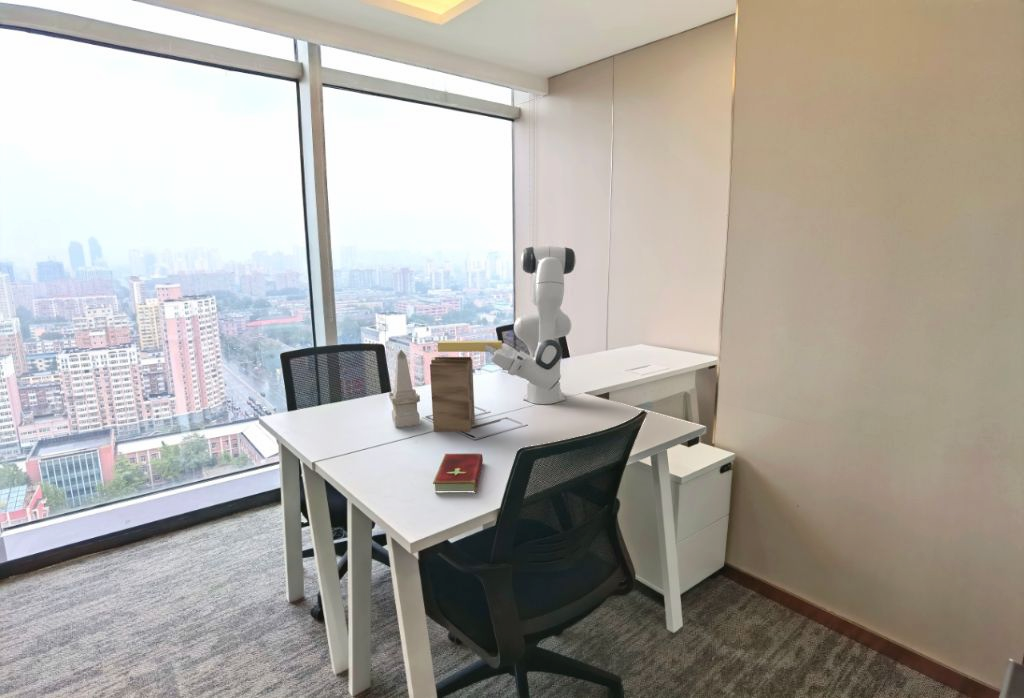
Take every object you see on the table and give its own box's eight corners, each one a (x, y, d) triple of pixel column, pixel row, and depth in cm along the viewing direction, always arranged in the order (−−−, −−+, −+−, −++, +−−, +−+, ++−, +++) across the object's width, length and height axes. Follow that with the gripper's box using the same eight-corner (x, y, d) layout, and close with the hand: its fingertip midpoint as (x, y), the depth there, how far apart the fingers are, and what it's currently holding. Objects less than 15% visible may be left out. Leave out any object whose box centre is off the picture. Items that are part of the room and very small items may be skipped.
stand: (440, 422, 209) (436, 355, 204) (474, 423, 207) (472, 355, 202) (433, 430, 199) (429, 361, 194) (469, 431, 197) (466, 361, 192)
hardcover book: (482, 464, 168) (482, 452, 167) (476, 495, 147) (475, 481, 146) (445, 465, 168) (445, 452, 167) (433, 495, 148) (432, 481, 147)
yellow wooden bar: (440, 350, 200) (440, 341, 199) (502, 349, 197) (502, 340, 196) (438, 351, 197) (437, 342, 196) (501, 351, 193) (500, 342, 193)
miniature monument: (421, 424, 207) (416, 350, 201) (394, 428, 203) (389, 353, 198) (416, 417, 216) (412, 346, 211) (391, 420, 213) (385, 348, 207)
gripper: (525, 350, 204) (494, 333, 205) (519, 361, 184) (485, 342, 185) (518, 364, 206) (487, 346, 206) (510, 376, 186) (477, 357, 186)
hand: (486, 344), depth 195 cm, fingers closed on yellow wooden bar, 3 cm apart
